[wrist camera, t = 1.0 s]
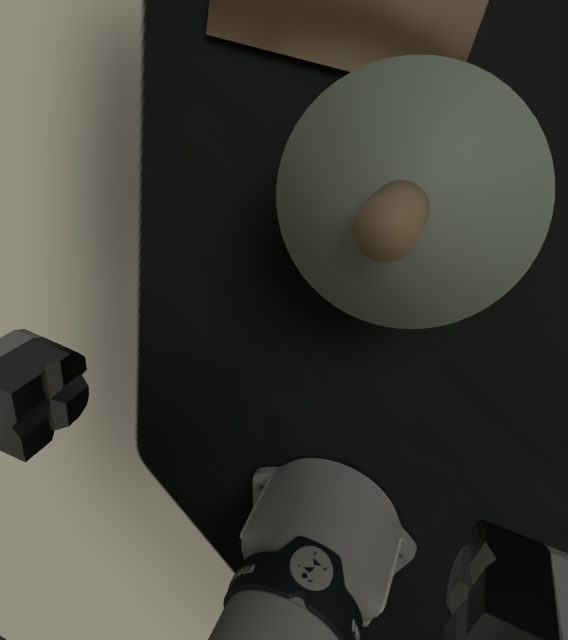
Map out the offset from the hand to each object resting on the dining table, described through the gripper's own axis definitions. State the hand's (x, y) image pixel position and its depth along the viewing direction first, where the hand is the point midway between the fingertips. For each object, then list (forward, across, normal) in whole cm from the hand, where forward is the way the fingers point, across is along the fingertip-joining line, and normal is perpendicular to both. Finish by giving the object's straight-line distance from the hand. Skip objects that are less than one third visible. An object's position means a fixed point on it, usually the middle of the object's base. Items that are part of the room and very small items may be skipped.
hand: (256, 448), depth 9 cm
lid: (+19, 0, 0) cm, 19 cm away
